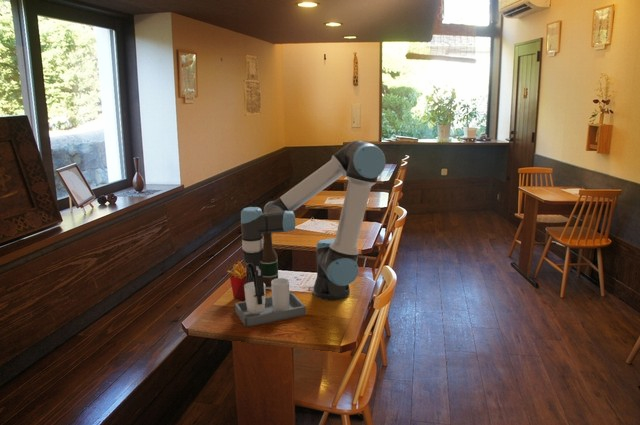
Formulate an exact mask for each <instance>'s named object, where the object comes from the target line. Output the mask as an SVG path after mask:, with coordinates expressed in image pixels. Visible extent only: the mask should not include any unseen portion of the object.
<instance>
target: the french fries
mask: <svg viewBox="0 0 640 425" xmlns="http://www.w3.org/2000/svg"><path fill="white" fill-rule="evenodd" d="M232 267H233V271H232V270H227V273H228V274H232V275H230V276H229V278H230V279H229V280H230V284H231V290H232V295H233V299H234V300H238V301H239V302H244V301H246V299H245V291H244V285H245V284H246V272H245V270H246V267H245V268H244V265H243V263H242V262H241V261H237V264H236V263H235V264H233V265H232Z"/></svg>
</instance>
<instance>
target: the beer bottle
mask: <svg viewBox="0 0 640 425" xmlns="http://www.w3.org/2000/svg"><path fill="white" fill-rule="evenodd" d="M272 234H273V233H263V239H264V242H263V251H264V259H263V260H262V261H260V262H259V265H260V266H261V269H262V270H263V283H265V288H266V287H267V288H272V287H271V281H272V280H274V279H277V278H279V263H278V262H279V261H278V260H279V259H278V254H277V252H276V250H275V249H274V247H273V238H272Z"/></svg>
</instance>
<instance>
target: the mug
mask: <svg viewBox="0 0 640 425" xmlns="http://www.w3.org/2000/svg"><path fill="white" fill-rule="evenodd" d="M270 288H271V296H272V302H273V312H276V311H281V310H286V309H289V293H290V279H287V278H284V277H278V278H277V279H274V280H272V281H271V287H270Z"/></svg>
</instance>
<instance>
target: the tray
mask: <svg viewBox="0 0 640 425" xmlns="http://www.w3.org/2000/svg"><path fill="white" fill-rule="evenodd" d="M234 313H236V315H237V316H238V318H239V320H240V321H241V322H242V324H243V326H244V327H245V328H250V327H256V326H261V325H264V324H270V323H273V322H279V321H283V320H289V319H295V318H298V317H303V316H304V317H305V316H306V315H307V306H306V305H305V304H304V303H303V301H301V300H300V299H299V297H298V296H297V295H295V294H294V293H293V292H289V309H286V310H281V311H276V312H273V302H272V295H271V296H265V310H264V311H263V312H261V313H257V314H252V313H249V312H248V311H247V305H246V300H245V301H239V302H236V303H235V302H234Z"/></svg>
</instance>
